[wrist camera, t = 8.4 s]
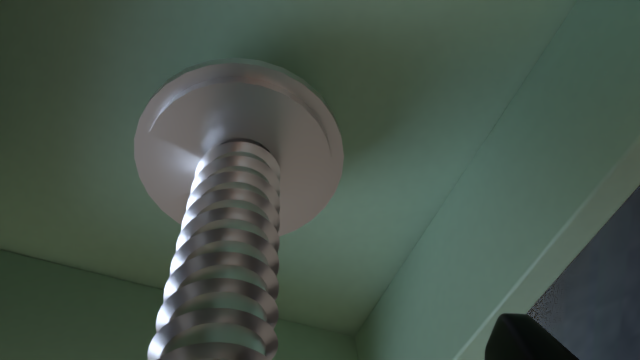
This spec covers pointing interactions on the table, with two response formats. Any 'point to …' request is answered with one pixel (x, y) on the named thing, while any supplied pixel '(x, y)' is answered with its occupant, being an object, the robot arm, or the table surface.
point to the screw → (232, 198)
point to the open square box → (357, 174)
